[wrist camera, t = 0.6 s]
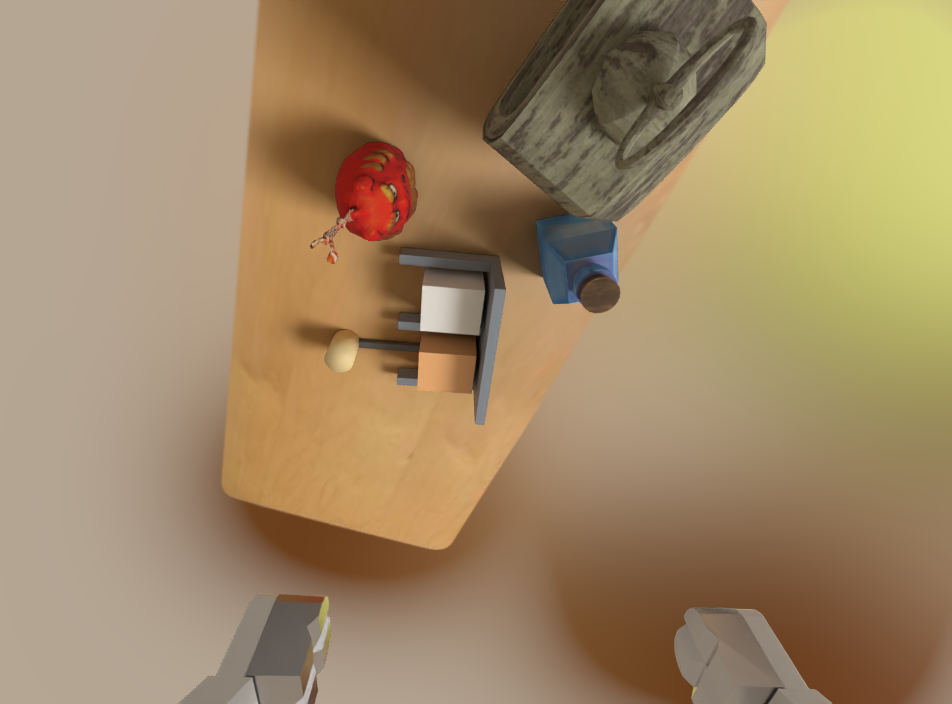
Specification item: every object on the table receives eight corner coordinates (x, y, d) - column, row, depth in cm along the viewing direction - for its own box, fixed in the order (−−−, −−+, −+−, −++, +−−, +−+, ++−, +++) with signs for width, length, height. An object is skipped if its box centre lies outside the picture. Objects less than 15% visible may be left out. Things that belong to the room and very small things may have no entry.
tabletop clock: (596, -51, 33) (826, -234, 13) (673, 39, 37) (957, 15, 16) (477, 120, 39) (498, 190, 19) (552, 186, 43) (641, 307, 22)
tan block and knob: (331, 320, 50) (320, 344, 46) (475, 332, 51) (476, 356, 47) (334, 357, 53) (323, 383, 48) (470, 367, 54) (471, 393, 50)
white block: (425, 265, 47) (422, 285, 43) (482, 270, 47) (485, 290, 43) (423, 307, 50) (420, 330, 45) (477, 312, 50) (479, 335, 46)
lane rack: (401, 247, 46) (391, 279, 39) (499, 256, 46) (506, 289, 40) (398, 374, 54) (390, 419, 47) (481, 380, 55) (484, 424, 48)
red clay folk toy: (426, 218, 44) (413, 282, 32) (355, 228, 44) (315, 295, 32) (410, 134, 40) (388, 168, 27) (332, 144, 40) (276, 184, 28)
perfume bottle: (542, 277, 48) (565, 335, 38) (535, 220, 45) (558, 267, 34) (601, 266, 47) (639, 321, 37) (598, 208, 44) (639, 251, 34)
